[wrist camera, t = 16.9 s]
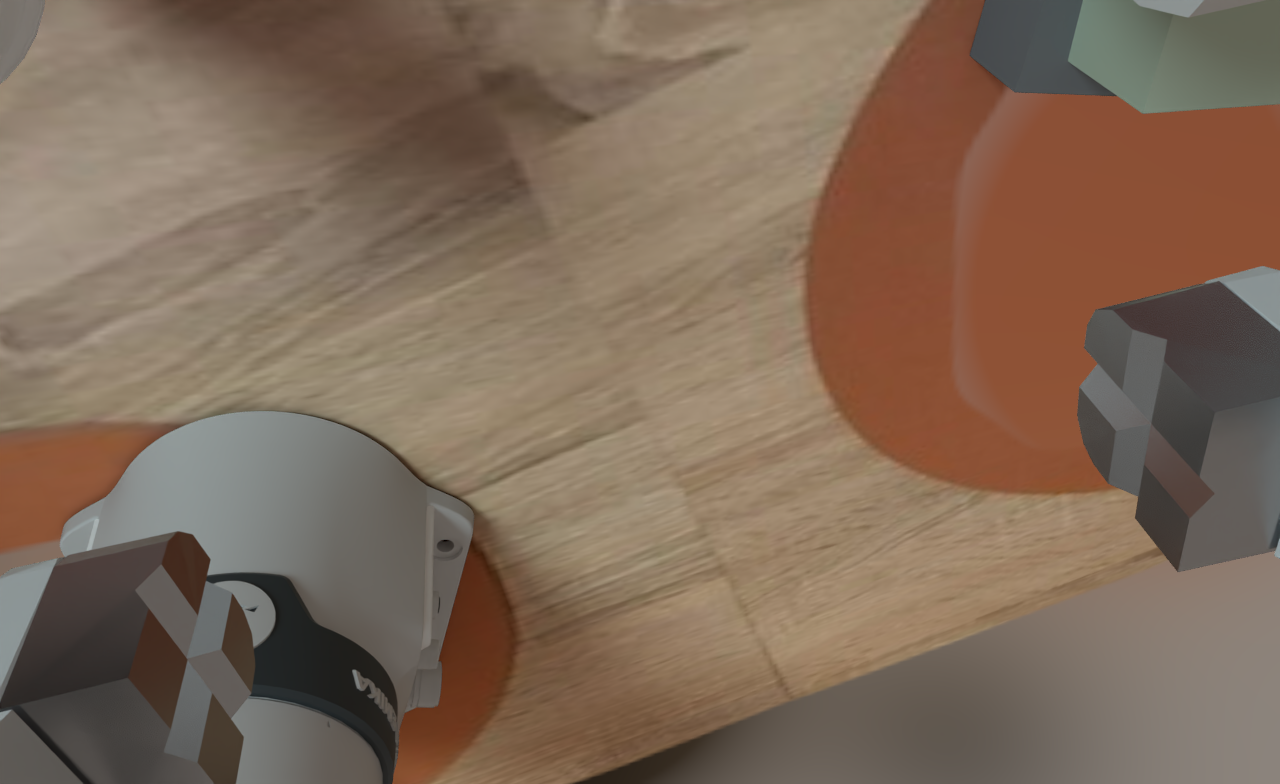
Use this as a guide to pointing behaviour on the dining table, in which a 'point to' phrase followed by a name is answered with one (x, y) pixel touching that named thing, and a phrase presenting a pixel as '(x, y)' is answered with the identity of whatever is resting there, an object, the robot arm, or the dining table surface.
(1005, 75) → the charcoal block
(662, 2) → the dining table surface
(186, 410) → the dining table surface
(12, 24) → the coffee cup
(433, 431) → the dining table surface
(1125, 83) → the green cube
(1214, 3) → the heart sculpture
